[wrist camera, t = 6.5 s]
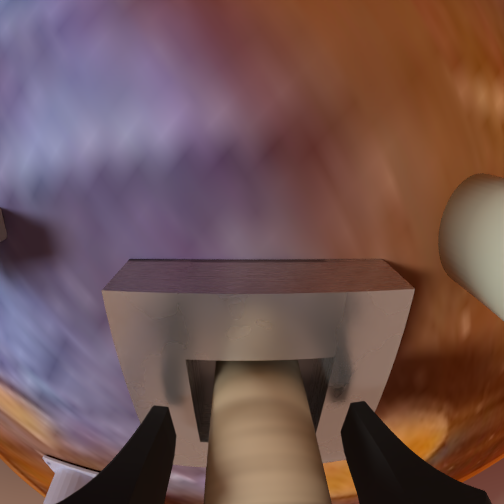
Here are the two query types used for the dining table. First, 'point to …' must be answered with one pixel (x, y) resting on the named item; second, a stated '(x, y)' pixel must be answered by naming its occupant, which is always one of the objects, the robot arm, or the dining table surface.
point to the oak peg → (262, 437)
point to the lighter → (2, 228)
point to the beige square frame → (255, 335)
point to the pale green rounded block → (476, 239)
